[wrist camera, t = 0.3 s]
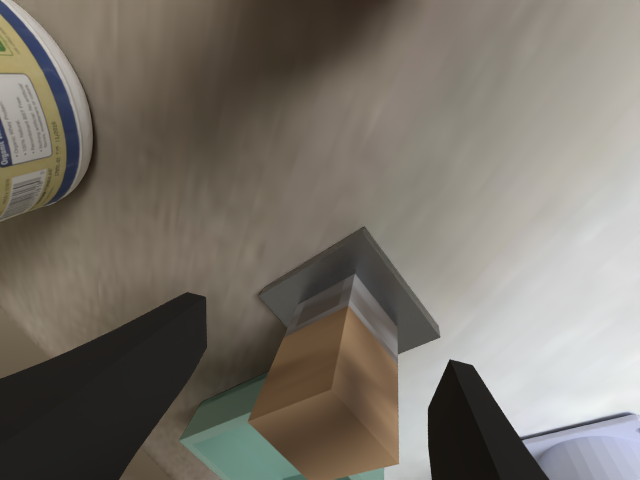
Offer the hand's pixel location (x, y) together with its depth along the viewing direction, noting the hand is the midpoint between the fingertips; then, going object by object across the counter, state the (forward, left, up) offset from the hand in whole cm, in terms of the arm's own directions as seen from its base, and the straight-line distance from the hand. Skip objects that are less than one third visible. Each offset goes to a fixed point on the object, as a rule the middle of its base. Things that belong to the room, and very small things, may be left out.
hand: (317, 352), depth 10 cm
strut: (-5, +4, -9) cm, 11 cm away
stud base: (-5, +4, -10) cm, 12 cm away
